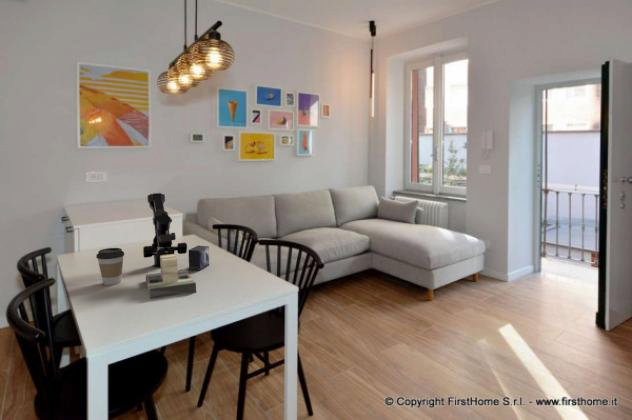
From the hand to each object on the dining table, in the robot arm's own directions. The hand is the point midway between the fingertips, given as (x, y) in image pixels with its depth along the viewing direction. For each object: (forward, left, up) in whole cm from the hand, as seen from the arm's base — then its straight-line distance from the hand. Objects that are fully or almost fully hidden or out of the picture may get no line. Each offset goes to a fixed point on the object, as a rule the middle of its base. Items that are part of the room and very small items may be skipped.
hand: (167, 265), depth 180 cm
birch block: (+3, -3, -5) cm, 7 cm away
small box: (-1, +25, -8) cm, 26 cm away
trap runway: (+4, -4, -8) cm, 10 cm away
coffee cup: (-24, -8, -8) cm, 26 cm away
